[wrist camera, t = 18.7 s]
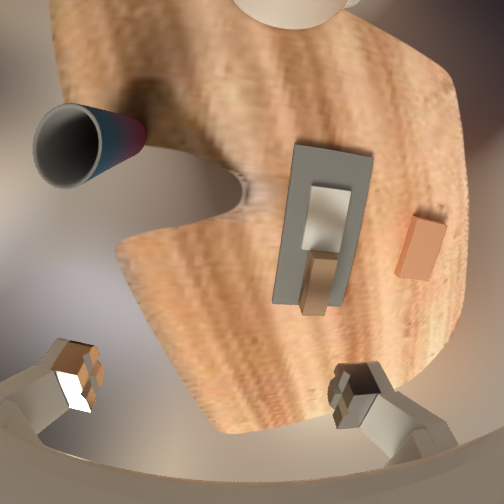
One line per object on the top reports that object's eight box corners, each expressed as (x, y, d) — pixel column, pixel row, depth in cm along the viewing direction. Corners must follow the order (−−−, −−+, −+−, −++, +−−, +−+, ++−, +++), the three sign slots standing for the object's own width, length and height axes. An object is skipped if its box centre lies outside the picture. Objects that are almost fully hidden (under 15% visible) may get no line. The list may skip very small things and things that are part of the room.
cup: (106, 108, 31) (37, 103, 18) (157, 112, 32) (108, 104, 18) (99, 161, 34) (30, 185, 20) (149, 167, 35) (97, 194, 21)
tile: (393, 272, 42) (411, 214, 39) (422, 275, 43) (440, 221, 40) (398, 277, 41) (417, 218, 37) (428, 280, 41) (447, 225, 38)
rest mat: (294, 144, 35) (295, 144, 34) (370, 157, 35) (373, 158, 35) (271, 300, 42) (272, 303, 42) (339, 303, 43) (341, 306, 43)
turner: (325, 303, 42) (331, 316, 39) (291, 302, 42) (294, 315, 39) (349, 190, 36) (358, 196, 33) (310, 185, 36) (317, 190, 33)
